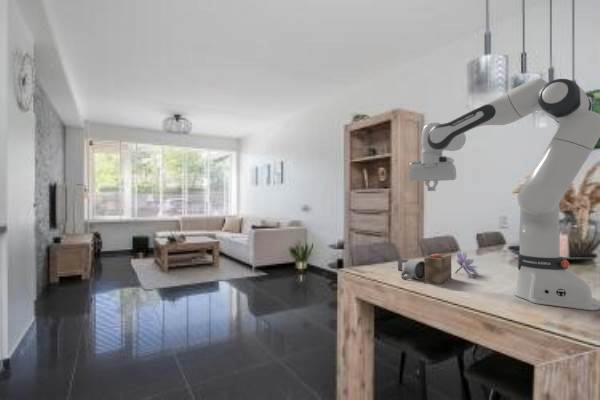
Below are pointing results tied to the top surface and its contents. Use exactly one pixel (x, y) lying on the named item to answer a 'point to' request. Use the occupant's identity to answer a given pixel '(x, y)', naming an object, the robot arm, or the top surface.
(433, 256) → the gauge button
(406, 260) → the handrail
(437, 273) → the brown rectangular block
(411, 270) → the ceramic mug
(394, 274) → the top surface
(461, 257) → the water lily
